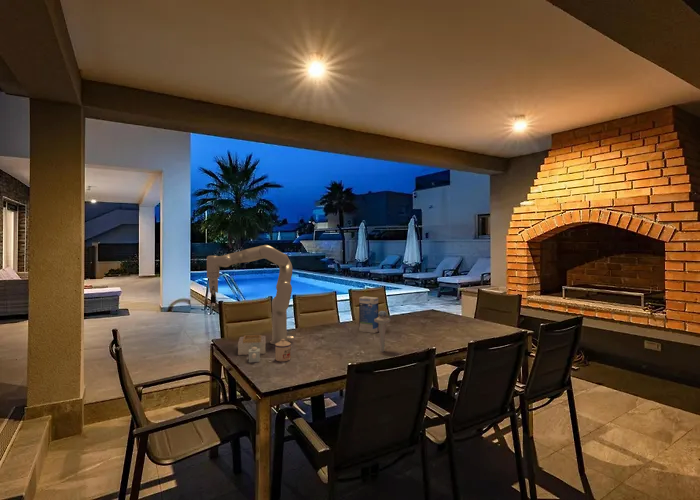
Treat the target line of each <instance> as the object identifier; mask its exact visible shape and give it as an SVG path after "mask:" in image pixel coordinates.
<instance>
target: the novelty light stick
mask: <svg viewBox="0 0 700 500" xmlns="http://www.w3.org/2000/svg"><path fill="white" fill-rule="evenodd" d="M387 315H388V313H387V312H386V311H385V310H380V311H379V310H378V318H375V319H374V321H375V322H377V323H378V330H379V331H378V332H379V333H378V334H379V352H380V353H384V352H385V342H386V328H387V326H386V325H387V324H389V323H391V318H390V317H386V316H387Z"/></svg>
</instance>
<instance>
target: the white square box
mask: <svg viewBox="0 0 700 500" xmlns="http://www.w3.org/2000/svg"><path fill="white" fill-rule="evenodd" d="M266 339H267V338H266V335H262V334H248V335H247V334H245V335H243V336H239V339H238V342H237V356H249V349H252V347H257V349H259V348H260V355H263V354H264V355H265V354H266V349H267V347H266V345H267V342H266Z"/></svg>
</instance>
